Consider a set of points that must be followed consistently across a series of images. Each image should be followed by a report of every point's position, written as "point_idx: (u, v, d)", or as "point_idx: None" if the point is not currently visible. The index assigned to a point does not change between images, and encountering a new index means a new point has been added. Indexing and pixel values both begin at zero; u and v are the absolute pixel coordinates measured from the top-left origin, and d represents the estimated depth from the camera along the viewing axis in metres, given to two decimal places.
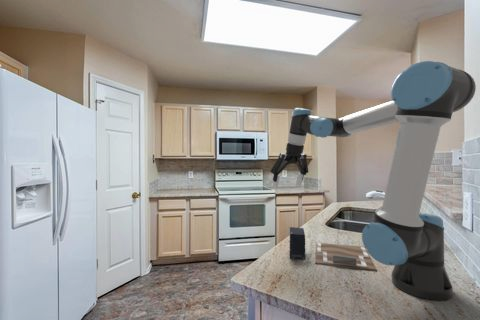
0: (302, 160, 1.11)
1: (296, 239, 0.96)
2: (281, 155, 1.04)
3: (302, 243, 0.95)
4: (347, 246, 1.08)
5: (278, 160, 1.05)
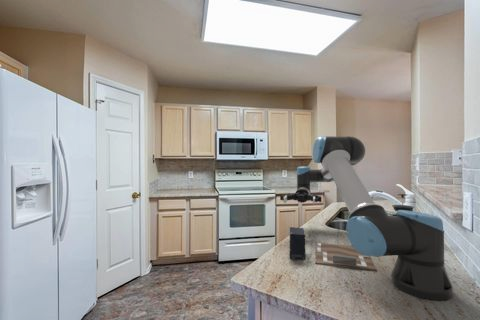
0: None
1: (296, 239, 0.96)
2: None
3: (302, 243, 0.95)
4: (347, 246, 1.08)
5: None
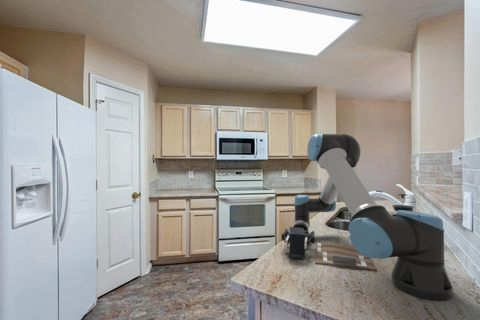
0: (310, 236, 1.07)
1: (295, 238, 0.96)
2: None
3: (301, 243, 0.95)
4: (347, 246, 1.08)
5: None
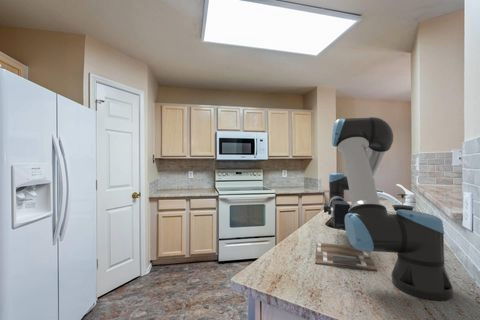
0: None
1: (340, 208, 0.99)
2: (324, 205, 1.16)
3: (347, 212, 0.98)
4: (347, 246, 1.08)
5: None
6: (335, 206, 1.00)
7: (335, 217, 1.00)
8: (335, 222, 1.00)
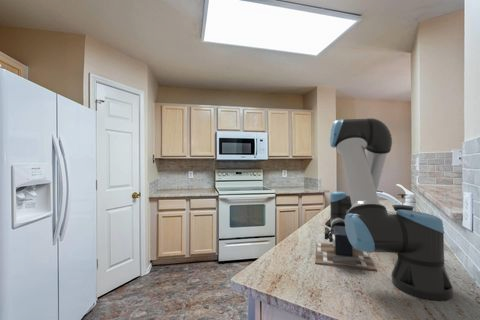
0: None
1: (342, 240, 0.90)
2: (325, 230, 1.07)
3: (349, 244, 0.90)
4: None
5: None
6: (336, 237, 0.91)
7: (336, 249, 0.91)
8: (336, 254, 0.91)
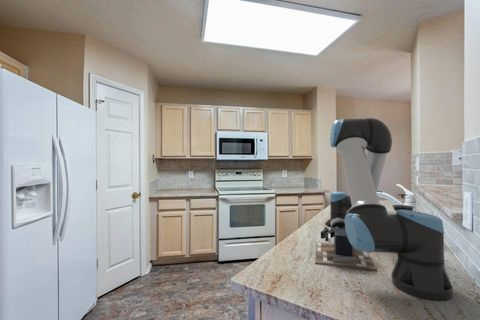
0: None
1: (342, 241, 0.91)
2: None
3: (349, 245, 0.90)
4: None
5: None
6: (336, 238, 0.92)
7: (336, 249, 0.92)
8: None
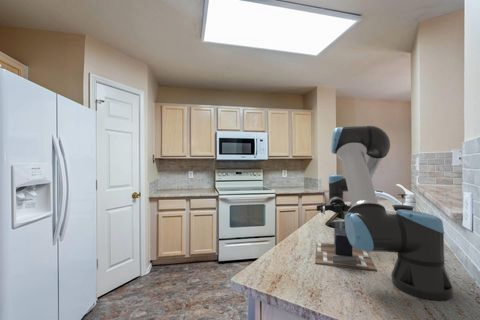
0: None
1: (342, 241, 0.91)
2: None
3: (349, 245, 0.90)
4: None
5: None
6: (336, 238, 0.92)
7: (336, 249, 0.92)
8: None
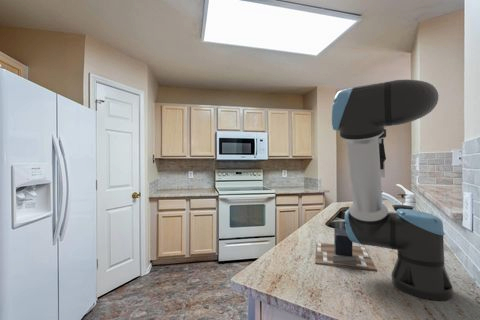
0: None
1: (342, 241, 0.91)
2: None
3: (349, 245, 0.90)
4: None
5: None
6: (336, 238, 0.92)
7: (336, 249, 0.92)
8: None
